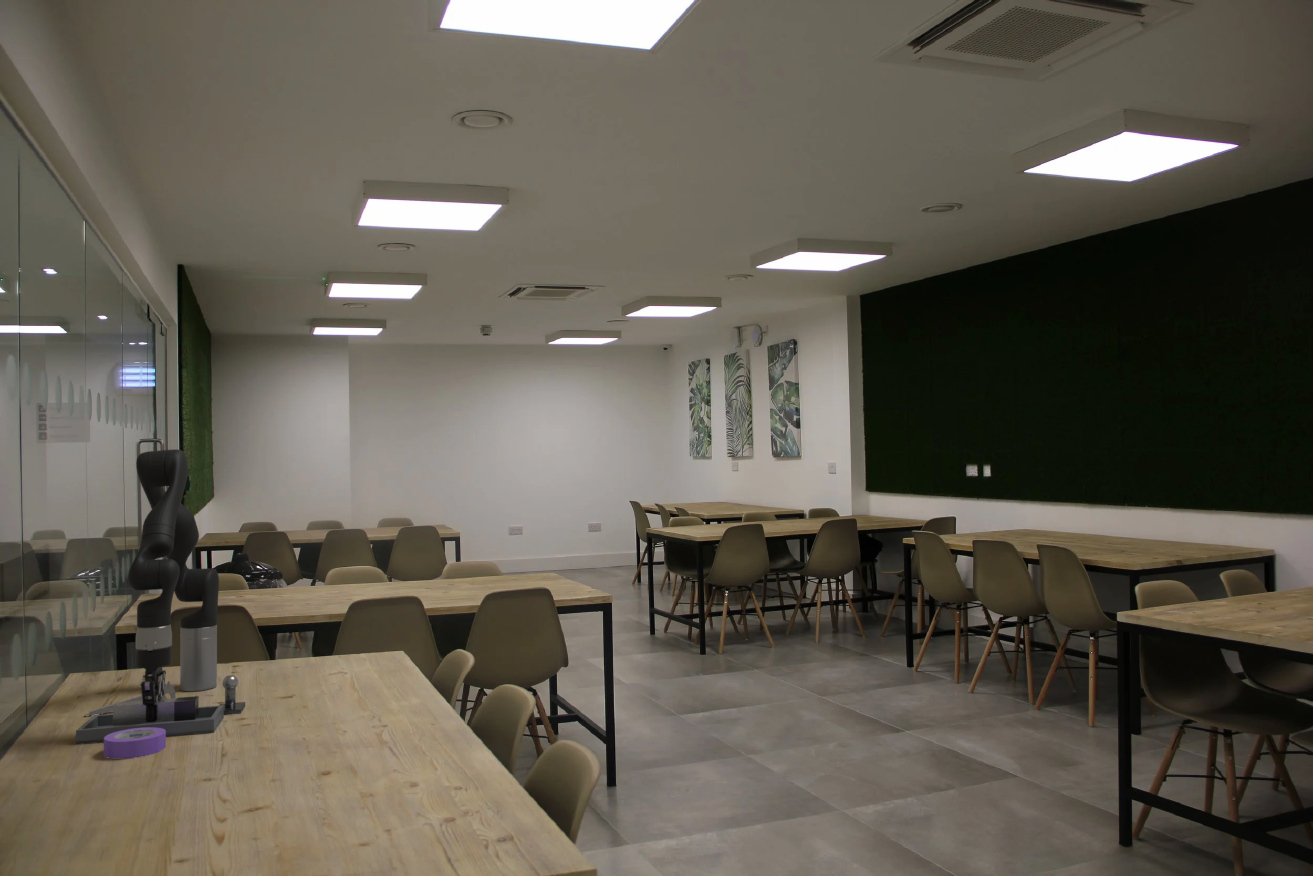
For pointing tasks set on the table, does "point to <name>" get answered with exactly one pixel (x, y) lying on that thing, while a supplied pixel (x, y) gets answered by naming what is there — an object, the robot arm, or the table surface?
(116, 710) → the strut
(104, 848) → the table surface
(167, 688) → the caliper
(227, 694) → the ball stud
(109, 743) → the masking tape
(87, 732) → the tray
